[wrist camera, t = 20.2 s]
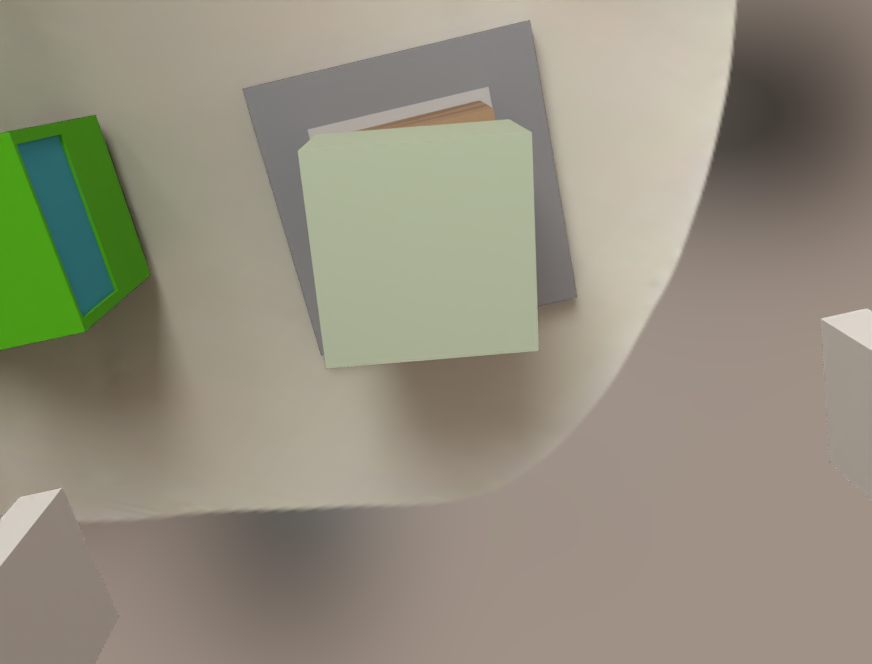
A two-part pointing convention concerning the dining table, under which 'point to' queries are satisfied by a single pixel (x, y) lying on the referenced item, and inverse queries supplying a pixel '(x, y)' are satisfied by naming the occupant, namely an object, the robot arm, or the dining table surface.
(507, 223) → the green block
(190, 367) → the dining table surface
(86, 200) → the toy car
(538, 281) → the plate
